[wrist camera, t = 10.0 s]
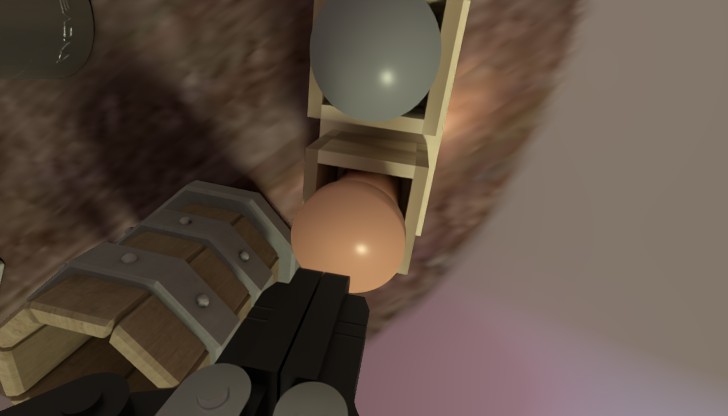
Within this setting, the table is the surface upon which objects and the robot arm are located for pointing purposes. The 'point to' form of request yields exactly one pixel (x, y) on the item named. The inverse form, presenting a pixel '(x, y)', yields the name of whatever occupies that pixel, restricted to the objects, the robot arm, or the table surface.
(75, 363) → the tankard
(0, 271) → the coffee box
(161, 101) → the table surface
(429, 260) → the table surface
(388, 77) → the grey mushroom plug
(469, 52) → the table surface
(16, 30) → the robot arm
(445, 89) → the frame
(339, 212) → the terracotta plug
